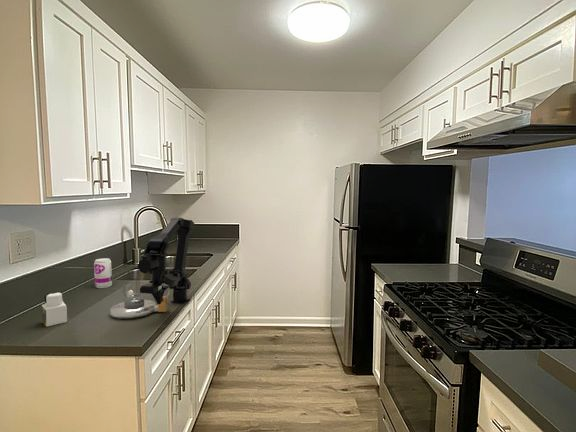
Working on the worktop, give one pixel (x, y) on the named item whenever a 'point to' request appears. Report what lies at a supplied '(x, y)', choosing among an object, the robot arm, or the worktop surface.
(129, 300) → the cover
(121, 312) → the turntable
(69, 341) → the worktop surface
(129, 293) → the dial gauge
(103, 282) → the supplement can
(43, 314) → the medicine bottle
